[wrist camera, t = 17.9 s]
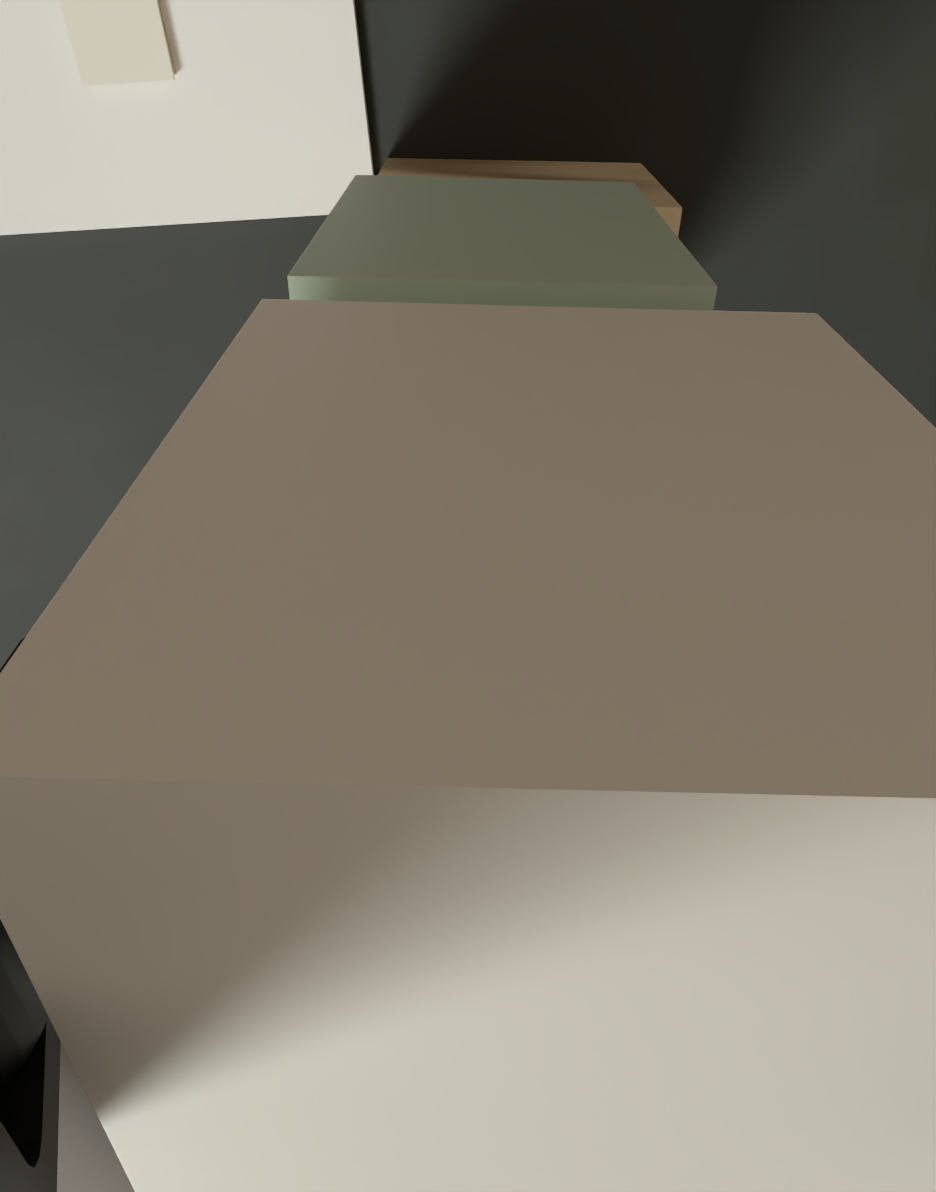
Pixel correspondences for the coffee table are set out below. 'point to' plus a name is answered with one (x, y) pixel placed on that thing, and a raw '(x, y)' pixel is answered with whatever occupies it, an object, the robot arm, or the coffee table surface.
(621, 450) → the cream block
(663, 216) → the maple base block
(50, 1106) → the robot arm
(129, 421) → the coffee table surface
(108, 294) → the coffee table surface
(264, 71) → the page
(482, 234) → the sage block
